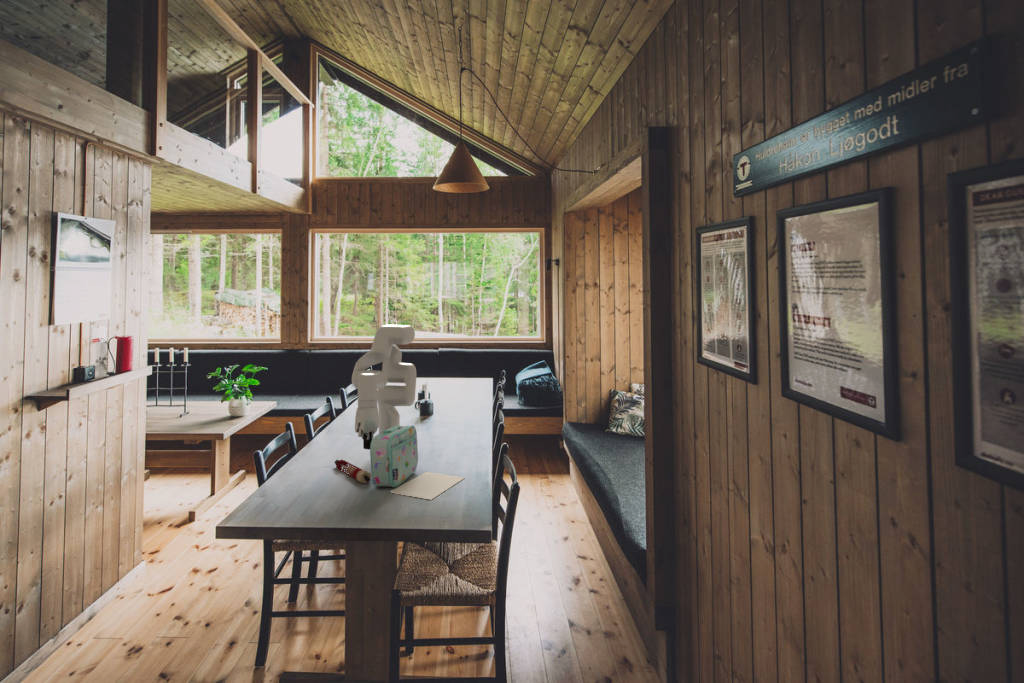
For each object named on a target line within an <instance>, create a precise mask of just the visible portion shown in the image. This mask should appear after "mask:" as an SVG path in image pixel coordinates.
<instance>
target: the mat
mask: <svg viewBox="0 0 1024 683" xmlns="http://www.w3.org/2000/svg"><path fill="white" fill-rule="evenodd" d="M464 478H465V477H463V476H455V475H450V474H443V473H437V472H430V471H426V472H423V473H422V474H420V475H418V476H416V477H414V478H412V479H410V480H409V481H407V482H405V483H403V484H402V485H401V484H400V485H399V486H397V487H395V488H394V489H392V490H391V491H392V492H391V491H389V492H391V493H390V494H392V493H393V492H394V493H395V494H394V495H397V494H401V495H400V496H403V495H406V496H405V497H409V496H412V497H411V498H414V497H417V499H420V498H423V499H422V500H426V499H429V500H428V501H432V499H433V498H434V499H436V498H437V497H439V496H440V495H442V494H444V493H445V492H446V491H448V490H449V489H452V488H453V487H454V486H456V485H457V484H459V483H460V482H462V481H464V480H465V479H464ZM461 480H462V481H461ZM458 482H459V483H458ZM455 484H456V485H455ZM453 485H454V486H453ZM452 486H453V487H452ZM444 491H445V492H444ZM441 493H442V494H441ZM438 495H439V496H438ZM436 496H437V497H436ZM435 497H436V498H435ZM434 499H433V500H434Z"/></svg>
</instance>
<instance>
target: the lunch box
mask: <svg viewBox="0 0 1024 683" xmlns="http://www.w3.org/2000/svg"><path fill="white" fill-rule="evenodd" d="M418 451H419V450H418V436H417V429H416V427H415V425H400V426H394V427H392V428H389V429H387V430H383V431H382V432H381V433H379V432H378V434H376V435H375V436H373V439H372V441H371V445H370V450H369V454H370V455H369V457H370V471H371V477H372V482H373V485H374V486H375V487H392V488H398V487H399V486H401V484H402V483H403V482H405V481H406V480H407V479H409V478H410V477H411V476H412V474H414V473H415V472H416V469H417V467H418V461H419V452H418ZM403 484H404V483H403Z"/></svg>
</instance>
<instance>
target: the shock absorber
mask: <svg viewBox="0 0 1024 683" xmlns="http://www.w3.org/2000/svg"><path fill="white" fill-rule="evenodd" d="M334 464H335V466H336V469H337V470H338V471H339V472H342V473H344V474H346V475H348V476H349V477H351V478H353V479H355V480H356V481H357V482H360V483H362V484H364V483H365V484H367V483H369V482H371V477H372V473H370V472H368V471H367V470H365V469H362V468H360V467H358V466H357V465H354V464H352V463H351V462H348V461H346V460H344V459H336V460H335V461H334ZM344 469H345V470H344ZM341 470H342V471H341ZM344 471H345V472H344ZM346 472H347V473H349V474H347V473H346Z"/></svg>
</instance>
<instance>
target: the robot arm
mask: <svg viewBox="0 0 1024 683" xmlns="http://www.w3.org/2000/svg"><path fill="white" fill-rule="evenodd" d="M415 335H416V334H415V329H414V327H413V326H412V325H411V324H404V325H403V324H383V325H381V326H379V327H378V328H377V329H376V331H375V334H374V338H373V342H372V344H371V348H370V350H368V351H367V352H365V353H364V355H361V357H359V359H358V360H357V361H356V362H355V365H354V368H353V371H352V375H351V385H352V386H353V387H354V388H356V389H357V408H356V411H355V418H354V419H355V420H354V431H355V433H357V436H358V437H359V438H361V439H362V440H363V441H362V442H363V448H362V449H364V450H369V451H370V445H371V441H372V439H373V438H374V437H375V436H374V435H375V434H376V433H377V432H378V434H379V433H381V432H382V431H383V430H387V429H389V428H392V427H394V426H401V425H400V423H401V422H400V419H401V418H400V417H401V416H400V413H399V411H398V409H397V408H396V407H411V406H413V405H414V403H415V400H416V387H417V369H416V366H415V364H413V363H410V362H402V357H403V353H402V350H401V349H400V347H399V346H398V345H409V344H411V343H413V341H414V339H415ZM380 363H382V367H381V368H382V369H381V370H376V369H375V370H372V369H370V370H369V369H368V368H370V367H371V366H374V365H378V364H380ZM388 383H390V385H387V384H388ZM391 384H404V385H391Z"/></svg>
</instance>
